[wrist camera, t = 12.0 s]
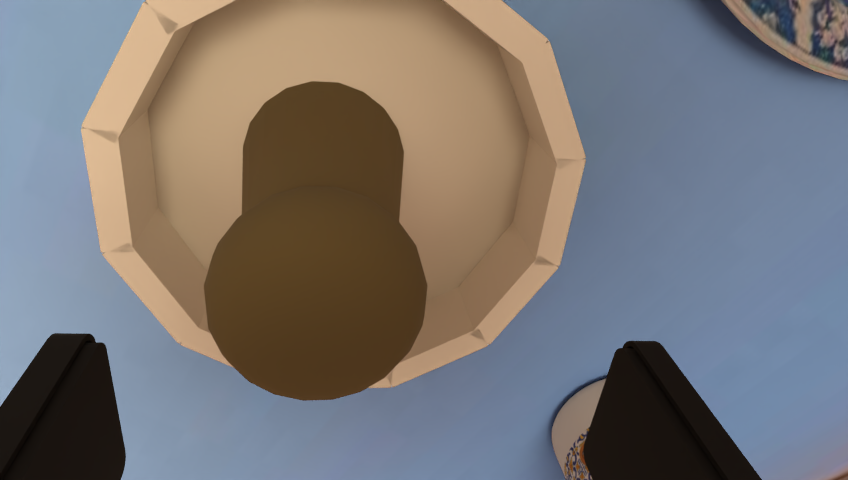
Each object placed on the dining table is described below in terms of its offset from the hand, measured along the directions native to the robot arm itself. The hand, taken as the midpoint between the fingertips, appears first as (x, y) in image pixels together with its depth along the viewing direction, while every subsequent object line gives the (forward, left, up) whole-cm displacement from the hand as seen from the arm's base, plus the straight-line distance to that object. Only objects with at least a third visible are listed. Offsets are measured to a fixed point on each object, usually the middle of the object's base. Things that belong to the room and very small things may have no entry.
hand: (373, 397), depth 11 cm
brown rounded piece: (+1, 0, -13) cm, 13 cm away
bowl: (0, 0, -14) cm, 14 cm away
